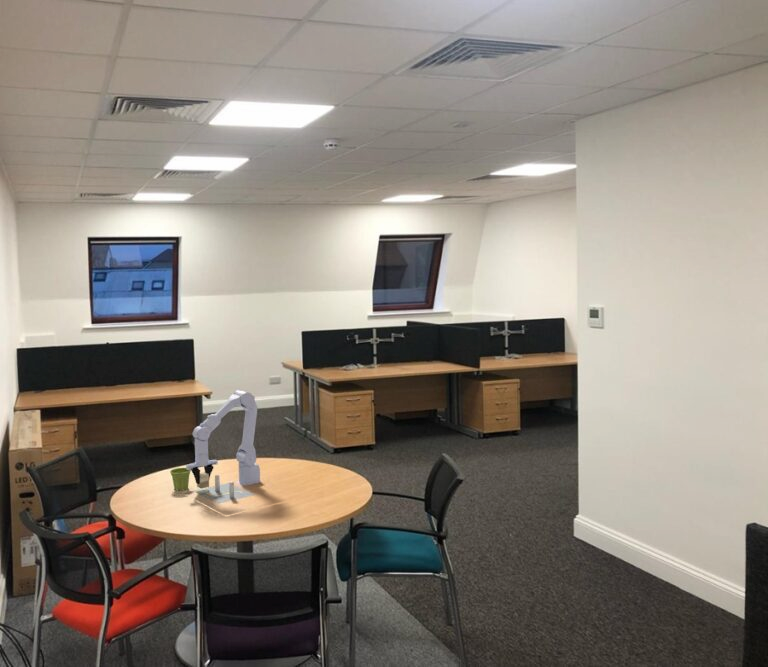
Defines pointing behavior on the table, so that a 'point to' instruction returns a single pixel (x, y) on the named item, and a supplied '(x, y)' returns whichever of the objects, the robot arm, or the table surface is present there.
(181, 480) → the plant pot
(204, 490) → the pad
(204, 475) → the block
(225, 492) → the board
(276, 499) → the table surface
